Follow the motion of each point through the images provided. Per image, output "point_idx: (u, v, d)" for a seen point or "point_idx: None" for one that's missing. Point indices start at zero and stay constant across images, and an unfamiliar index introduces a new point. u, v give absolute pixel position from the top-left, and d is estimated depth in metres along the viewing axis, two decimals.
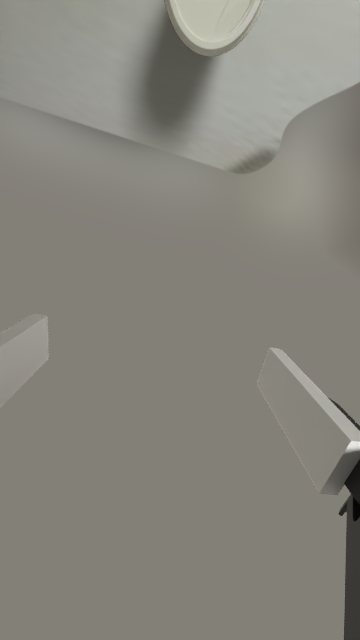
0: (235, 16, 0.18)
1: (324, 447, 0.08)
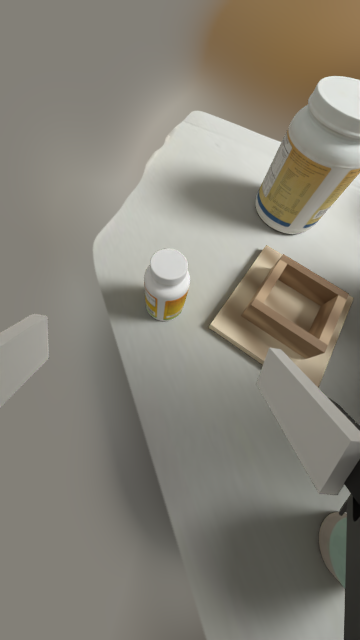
0: None
1: (324, 447, 0.08)
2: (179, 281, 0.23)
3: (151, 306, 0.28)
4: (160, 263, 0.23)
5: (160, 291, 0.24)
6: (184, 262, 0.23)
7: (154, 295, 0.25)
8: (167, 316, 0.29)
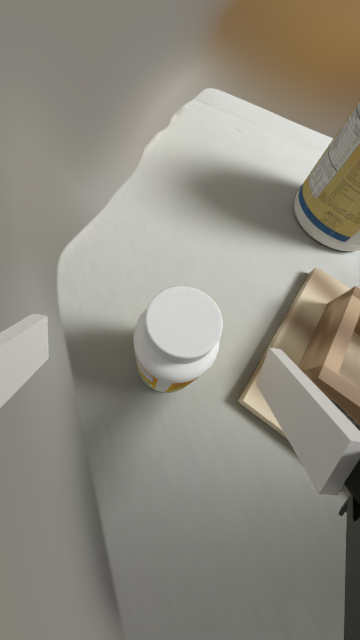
0: None
1: (324, 447, 0.08)
2: (204, 356, 0.11)
3: (146, 379, 0.16)
4: (167, 319, 0.11)
5: (164, 369, 0.12)
6: (215, 317, 0.11)
7: (152, 374, 0.13)
8: (173, 390, 0.17)
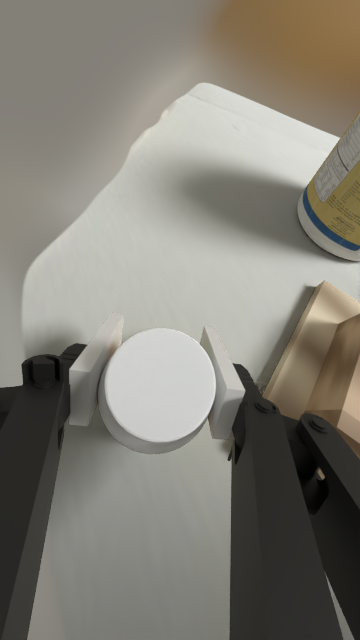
0: None
1: (217, 399, 0.10)
2: None
3: None
4: (136, 381, 0.08)
5: (136, 442, 0.09)
6: (206, 373, 0.08)
7: None
8: None
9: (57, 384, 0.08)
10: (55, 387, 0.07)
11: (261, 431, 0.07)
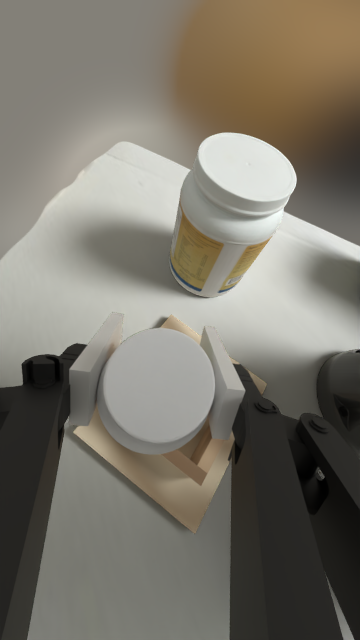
0: None
1: (217, 399, 0.10)
2: None
3: None
4: (135, 381, 0.08)
5: (135, 442, 0.09)
6: (205, 374, 0.08)
7: (121, 444, 0.09)
8: None
9: (57, 384, 0.08)
10: (55, 387, 0.07)
11: (261, 431, 0.07)
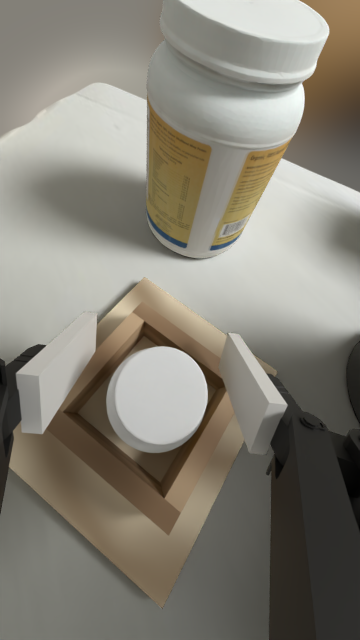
0: None
1: (254, 412, 0.09)
2: None
3: None
4: (141, 393, 0.09)
5: (140, 442, 0.10)
6: (199, 386, 0.10)
7: None
8: None
9: None
10: None
11: (307, 447, 0.07)
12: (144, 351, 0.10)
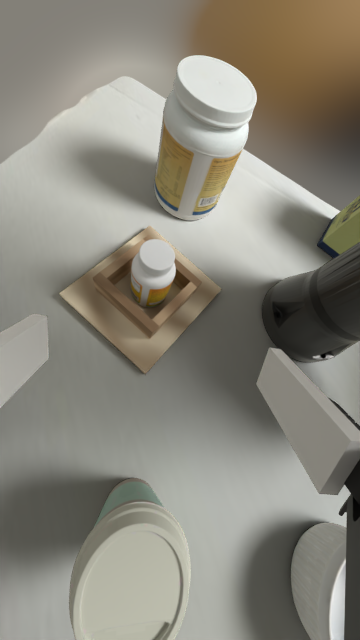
0: None
1: (324, 447, 0.08)
2: (165, 272, 0.25)
3: (136, 292, 0.29)
4: (149, 252, 0.24)
5: (145, 279, 0.25)
6: (172, 255, 0.25)
7: (140, 282, 0.26)
8: (150, 303, 0.31)
9: None
10: None
11: None
12: (151, 239, 0.25)
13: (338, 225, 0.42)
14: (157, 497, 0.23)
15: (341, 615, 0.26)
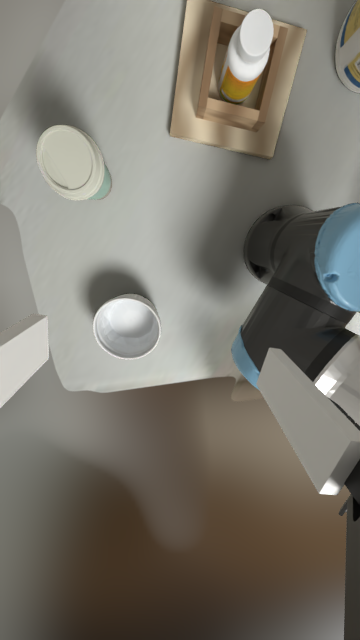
0: (48, 166, 0.29)
1: (324, 447, 0.08)
2: (244, 58, 0.27)
3: (223, 63, 0.31)
4: (253, 23, 0.25)
5: (232, 49, 0.28)
6: (263, 48, 0.26)
7: (228, 49, 0.28)
8: (222, 90, 0.33)
9: None
10: None
11: None
12: (268, 14, 0.25)
13: None
14: (108, 183, 0.36)
15: (121, 327, 0.49)
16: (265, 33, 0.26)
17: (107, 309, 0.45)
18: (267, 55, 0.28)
